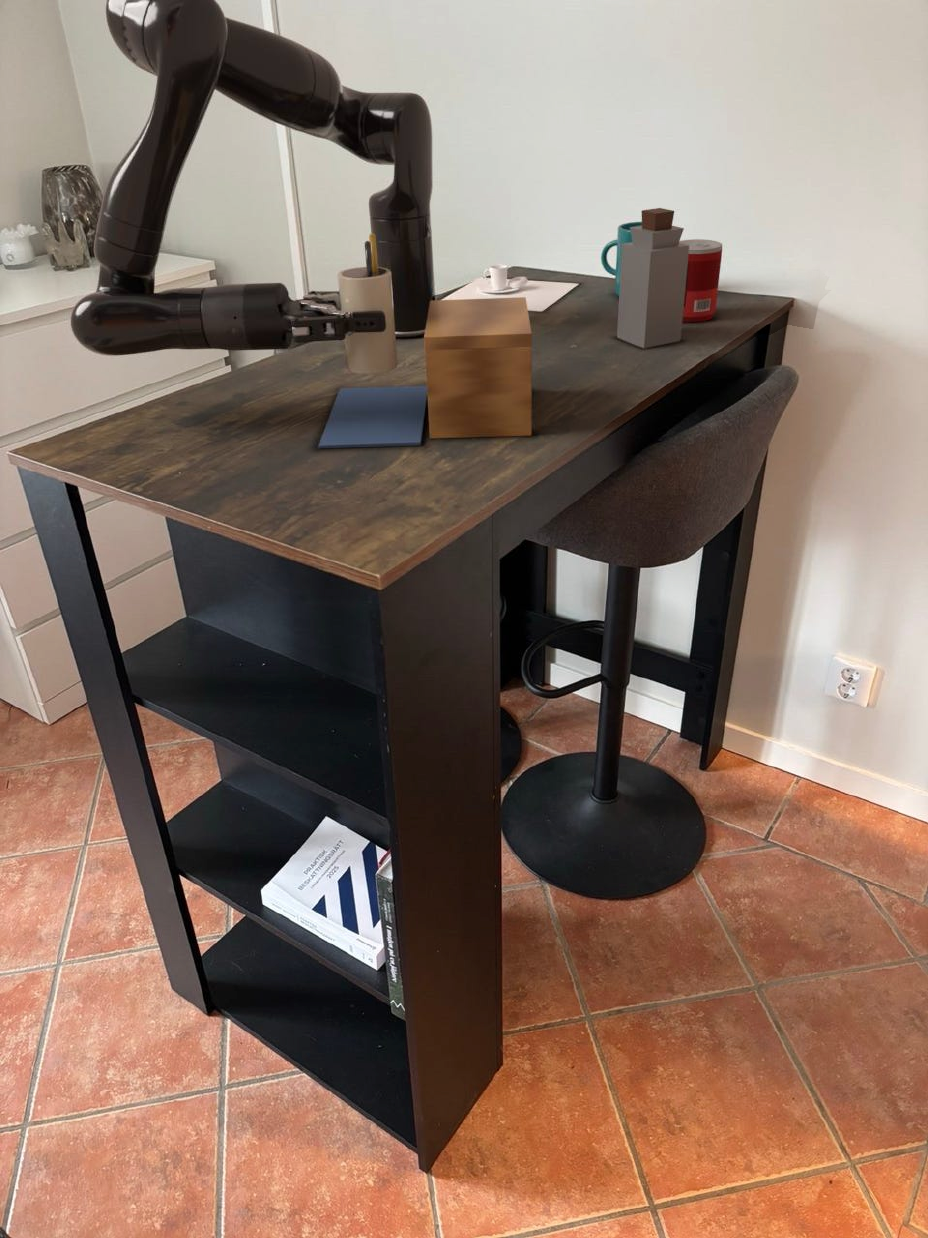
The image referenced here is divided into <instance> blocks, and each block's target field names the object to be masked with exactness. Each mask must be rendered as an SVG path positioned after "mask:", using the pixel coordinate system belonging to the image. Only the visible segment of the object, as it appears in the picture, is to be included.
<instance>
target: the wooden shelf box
mask: <svg viewBox="0 0 928 1238" xmlns="http://www.w3.org/2000/svg"><path fill="white" fill-rule="evenodd" d="M531 327H532V326H531V322H530V316H529V311H528V309H527V303H526V298H525V297H519V298H491V299H463V300H442V299H435V300H434V301H430V306H429V312H428V317H427V323H426V329H425V335H423V343H424V359H425V360H424V362H425V377H426V385H427V395H428V397H427V408H428V410H427V411H428V426H429V439H460V438H464V439H465V438H493V437H494V438H495V437H497V438H498V437H525V436H526V437H527V436H528V437H529V436H532V409H533V407H532V406H533V405H532V402H533V401H532V397H533V396H532V395H533V392H532V385H533V383H532V380H533V379H532V376H533V375H532V371H533V369H532V368H533V367H532V365H533V362H532V359H533V358H532V356H533V355H532V353H533V352H532V350H533V349H532V348H533V346H532V344H533V339H532V338H533V336H532V335H533V333H532V328H531Z"/></svg>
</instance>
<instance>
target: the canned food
mask: <svg viewBox="0 0 928 1238" xmlns="http://www.w3.org/2000/svg"><path fill="white" fill-rule="evenodd" d="M679 243H682V244H686V245H689V254H688V265H687V276H686V287H685V297H684V308H683V319H682V323H683V322H684V323H700V322H705V321H709V320H711V319H712V318H714V315H715V313H716V311H717V309H716V308H717V302H718V301H717V300H718V291H719V283H720V274H721V266H722V256H723V243H721V242H720V241H718V240H712V239H699V238H698V239H697V238H695V239H693V238H692V239H684V240H680V241H679Z"/></svg>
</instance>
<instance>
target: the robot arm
mask: <svg viewBox="0 0 928 1238" xmlns="http://www.w3.org/2000/svg"><path fill="white" fill-rule="evenodd" d="M105 19H106V23H107V27H108V30H109V33H110V36H111V38H112V40H113V42H114V43H115V46H117V48H118V50H119V51H120V52H121V53H122V55H124V56H125V58H127V59H128V60H129V62H130V63H132V64H133V65H134V66H136V67H137V68H139V69H141V70H143V71H145V72H147V73H149V74H151V75H153V76H155V77H156V84H155V91H154V96H153V97H154V98H153V103H152V105H151V109H150V113H149V116H148V118H147V121H146V123H145V125H144V126H143V128H142V129H141V132H140V133H139V136H138V137H137V138H136V140H135V141H134V142H133V144H132V146H131V147H130V148H129V149H128V151H127V152H126V154H124V156H123V158H122V159H121V160H120V162H119V163H118V164H117V165H116V167H115V168H114V170H113V172H112V173H111V175H110V178H109V179H108V182H107V183H106V186H105V189H104V193H103V196H102V200H101V205H100V210H99V214H98V220H97V225H96V230H95V235H94V242H93V254H94V258H95V259H96V261H97V262H98V263H99V271H98V272H99V273H98V281H97V286H96V290H95V292H92V293H89V294H87V295H85V296H84V297H82V298H81V299H80V300H78V302H77V303H75V305H74V306H73V309H72V311H71V315H70V328H71V331H72V333H73V336H74V337H75V339H76V340H77V341H78V342H79V344H80V345H81V346H82V347H83V348H85V349H86V350H88V351H90V352H92V353H95V354H96V355H101V356H110V357H111V356H112V357H115V356H129V355H136V354H137V355H139V354H145V353H151V352H152V353H153V352H159V351H164V350H191V351H192V350H223V351H233V352H234V351H235V352H236V351H270V350H271V351H272V350H273V351H274V350H288V349H289V348H290V347H291V345H292V343H297V344H301V343H311V342H329V341H332V342H333V341H344V339H346V336H350V335H352V334H353V331H354V333H360V332H383V331H385V329H386V318H385V313H384V312H383V311H361V312H353V313H352V315H351V312H349V311H341V305H340V295H339V290H338V291H337V290H335V291H334V290H333V291H332V290H331V291H330V290H328V291H327V290H326V291H325V290H324V291H323V290H320V291H319V290H318V291H317V290H310V291H308V293H307V294H305V295H303V296H302V298H300V299H295V300H294V299H292V298H290V296H289V290H288V288H287V286H286V285H285V284H284V283H282V282H260V283H258V282H257V283H225V284H220V285H215V286H214V285H213V286H206V287H203V286H202V287H179V288H178V287H175V288H170V289H164V290H161V291H158V292H155V286H156V282H155V281H156V267H157V264H158V261H159V258H160V253H161V249H162V243H163V239H164V234H165V230H166V227H167V222H168V217H169V213H170V209H171V205H172V201H173V198H174V194H175V193H176V192H175V191H176V188H177V185H178V183H179V179H180V177H181V174H182V172H183V169H184V167H185V163H186V162H187V159H188V157H189V154H190V153H191V149H192V147H193V145H194V142H195V139H196V138H197V135H198V132H199V130H200V128H201V125H202V122H203V119H204V117H205V115H206V112H207V110H208V107H209V105H210V102H211V100H212V97H213V95H214V93H215V91H217V92H218V93H220V94H222V95H223V96H225V97H227V98H228V99H230V100H232V101H233V102H235V103H236V104H239V105H240V106H242V107H243V108H245V109H248V110H249V111H251V112H253V113H255V114H257V115H259V116H260V117H263V118H265V119H267V120H269V121H271V122H273V123H276V124H278V125H281V126H283V127H286V128H288V129H291V130H294V131H296V132H299V133H303V134H306V135H309V136H312V137H315V138H319V139H322V140H323V139H324V140H327V141H330V142H332V143H334V144H335V145H337V146H340V147H341V148H342V149H344V150H346V151H347V152H349V153H350V154H353V155H354V156H355V157H357V158H359V160H362V161H365V162H366V163H369V164H373V165H381V166H393V179H392V182H391V183H390V184H389V185H388V186H387V187H385V188H384V189H381V190H379V191H376V192H374V193H373V194H371V195H370V196H369V199H368V213H369V223H370V234H371V233H373V234H375V238H376V251H377V264H378V267H381V268H386V269H389V270H390V271H391V278H392V293H393V307H394V321H395V335H396V338H415V337H421V336H424V335H425V329H426V323H427V317H428V312H429V306H430V301H434V300H436V287H435V285H436V284H435V268H434V267H435V266H434V249H433V235H432V234H433V233H432V213H431V201H432V195H433V187H434V174H433V173H434V172H433V170H434V169H433V165H434V164H433V158H434V157H433V156H434V155H433V152H434V150H433V149H434V145H433V143H434V142H433V140H434V139H433V122H432V116H431V112H430V109H429V106H428V104H427V101H425V99H424V98H423V97H422V95H420V94H418V93H415V92H366V91H365V92H364V91H360V90H357V89H353V88H351V87H347V86H345V85H343V84H342V81H341V79H340V76H339V74H338V72H337V71H336V69H335V67H334V66H333V65H332V64H331V62H330V61H329V60H328V59H326V58H325V57H324V56H322V55H321V54H319V53H318V52H316V51H314V50H312V49H311V48H308V47H307V46H305V45H302V44H301V43H299V42H296V41H294V40H292V39H291V38H287V37H285V36H283V35H280V34H277V33H275V32H272V31H269V30H268V29H267V30H266V29H264V28H260V27H257V26H255V25H251V24H248V23H245V22H242V21H238V20H235V19H232V18H229V17H226V15H225V13H224V11H223V8H221V6H220V4H219V3H218V2H217V0H106V3H105Z"/></svg>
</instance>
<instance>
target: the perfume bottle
mask: <svg viewBox="0 0 928 1238" xmlns="http://www.w3.org/2000/svg"><path fill="white" fill-rule="evenodd" d="M674 215H675V210H671V209H668V208H663V207H655V208H648V209H642V210H641V222H642V226H635V227H630V231H631V236H632V241H633V242H631V243H624V244H622V255H621V273H620V291H619V296H618V311H617V329H616V331H617V332H616V338H617V339H618V340H619V339H620V340H621V341H624V342H627V343H629V344H632V345H634V346H637V347H639V348H641V349H649V348H653V347H657V346H663V345H667V344H672V343H678V342H681V341H682V340H681V339H682V329H683V322H682V319H683V308H684V297H685V287H686V276H687V265H688V254H689V245H686V244H682V243H679V241H681V238H682V235H683V233H684V230H685V228H684V227H680V226H677V225H673V221H674Z"/></svg>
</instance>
